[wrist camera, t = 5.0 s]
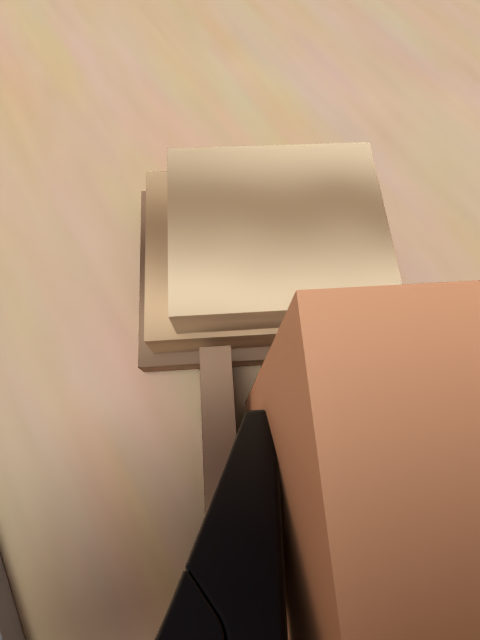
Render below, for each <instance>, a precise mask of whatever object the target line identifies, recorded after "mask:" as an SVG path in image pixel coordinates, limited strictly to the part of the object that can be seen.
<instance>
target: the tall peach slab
mask: <svg viewBox="0 0 480 640" xmlns="http://www.w3.org/2000/svg"><path fill="white" fill-rule="evenodd" d="M245 405H246V411H248V410H262V409H263V410H265V411H266V415H267V418H268V422H269V426H270V430H271V434H272V438H273V442H274V445H275V449H276V453H277V458H278V463H279V477H280V496H281V515H282V534H283V552H284V571H285V590H286V609H287V628H288V640H480V280H479V281H460V282H441V283H422V284H402V285H383V286H364V287H345V288H326V289H307V290H296V292H295V294H294V296H293V298H292V301H291V303H290V305H289V307H288V309H287V312H286V314H285V316H284V318H283V320H282V323H281V325H280V327H279V329H278V332H277V334H276V336H275V338H274V340H273V343H272V345H271V347H270V349H269V351H268V354H267V356H266V358H265V360H264V363H263V365H262V367H261V369H260V371H259V374H258V376H257V378H256V380H255V382H254V385H253V387H252V389H251V391H250V394H249V396H248V398H247V400H246V402H245Z"/></svg>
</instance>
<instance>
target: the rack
mask: <svg viewBox="0 0 480 640" xmlns="http://www.w3.org/2000/svg"><path fill="white" fill-rule="evenodd" d="M383 285H402V281H401V277H400V273H399V268H398V264H397V260H396V255H395V251H394V246H393V242H392V238H391V233H390V229H389V225H388V220H387V216H386V212H385V207H384V203H383V199H382V194H381V190H380V186H379V181H378V177H377V173H376V168H375V164H374V160H373V155H372V151H371V146H370V142H357V143H325V144H293V145H260V146H228V147H196V148H167V171H158V172H146V191H142V196H141V249H140V302H139V355H138V368H140V369H141V370H142V371H143V372H152V371H168V370H184V369H200V383H201V411H202V439H203V467H204V496H205V514H206V512H207V509H208V507H209V504H210V502H211V499H212V496H213V494H214V491H215V489H216V486H217V484H218V481H219V478H220V476H221V473H222V471H223V468H224V466H225V463H226V461H227V458H228V455H229V453H230V450H231V448H232V445H233V443H234V440H235V437H236V422H235V406H234V390H233V374H232V366H247V365H263V363H264V360H265V358H266V356H267V354H268V351H269V349H270V347H271V345H272V343H273V340H274V338H275V336H276V334H277V332H278V329H279V327H280V325H281V323H282V320H283V318H284V316H285V314H286V312H287V309H288V307H289V305H290V303H291V301H292V298H293V296H294V294H295V292H296V290H307V289H326V288H345V287H364V286H383Z"/></svg>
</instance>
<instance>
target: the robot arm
mask: <svg viewBox="0 0 480 640" xmlns="http://www.w3.org/2000/svg"><path fill="white" fill-rule="evenodd" d="M185 568H186V570H185V571H183V573H182V575H181V578H180V580H179V583H178V585H177V588H176V590H175V593H174V596H173V598H172V600H171V603H170V605H169V608H168V610H167V612H166V615H165V617H164V619H163V622H162V624H161V626H160V629H159V631H158V634H157V636H156V638H155V640H288V628H287V609H286V590H285V571H284V552H283V534H282V515H281V496H280V477H279V463H278V458H277V453H276V449H275V445H274V442H273V438H272V434H271V430H270V426H269V422H268V418H267V415H266V411H265V410H263V409H262V410H248V411H246V413H245V414H244V417H243V420H242V422H241V425H240V427H239V430H238V432H237V435H236V437H235V440H234V443H233V445H232V448H231V450H230V453H229V455H228V458H227V461H226V463H225V466H224V468H223V471H222V473H221V476H220V478H219V481H218V484H217V486H216V489H215V491H214V494H213V496H212V499H211V502H210V504H209V507H208V509H207V512H206V514H205V517H204V519H203V522H202V525H201V527H200V530H199V532H198V535H197V537H196V540H195V543H194V545H193V548H192V550H191V553H190V555H189V558H188V560H187V563H186V566H185Z"/></svg>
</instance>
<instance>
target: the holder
mask: <svg viewBox="0 0 480 640" xmlns="http://www.w3.org/2000/svg"><path fill="white" fill-rule="evenodd" d="M0 640H25V638H24V634H23V631H22V627H21V624H20V620H19V617H18V614H17V610H16V607H15V603H14V600H13V596H12V593H11V589H10V586H9V582H8V579H7V575H6V572H5V569H4V565H3V562H2V558H1V555H0Z"/></svg>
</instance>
